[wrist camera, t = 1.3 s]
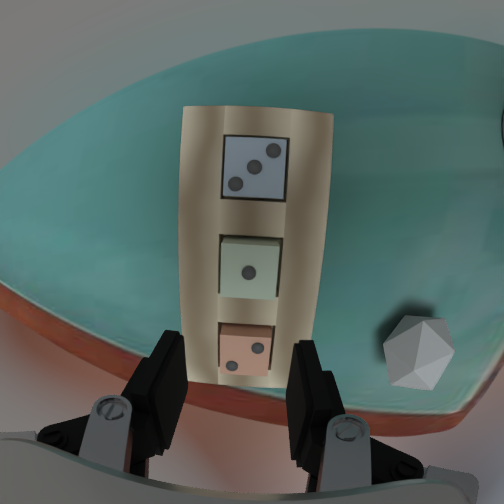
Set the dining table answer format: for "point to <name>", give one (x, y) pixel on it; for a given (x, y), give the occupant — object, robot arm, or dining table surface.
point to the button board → (250, 234)
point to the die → (418, 352)
